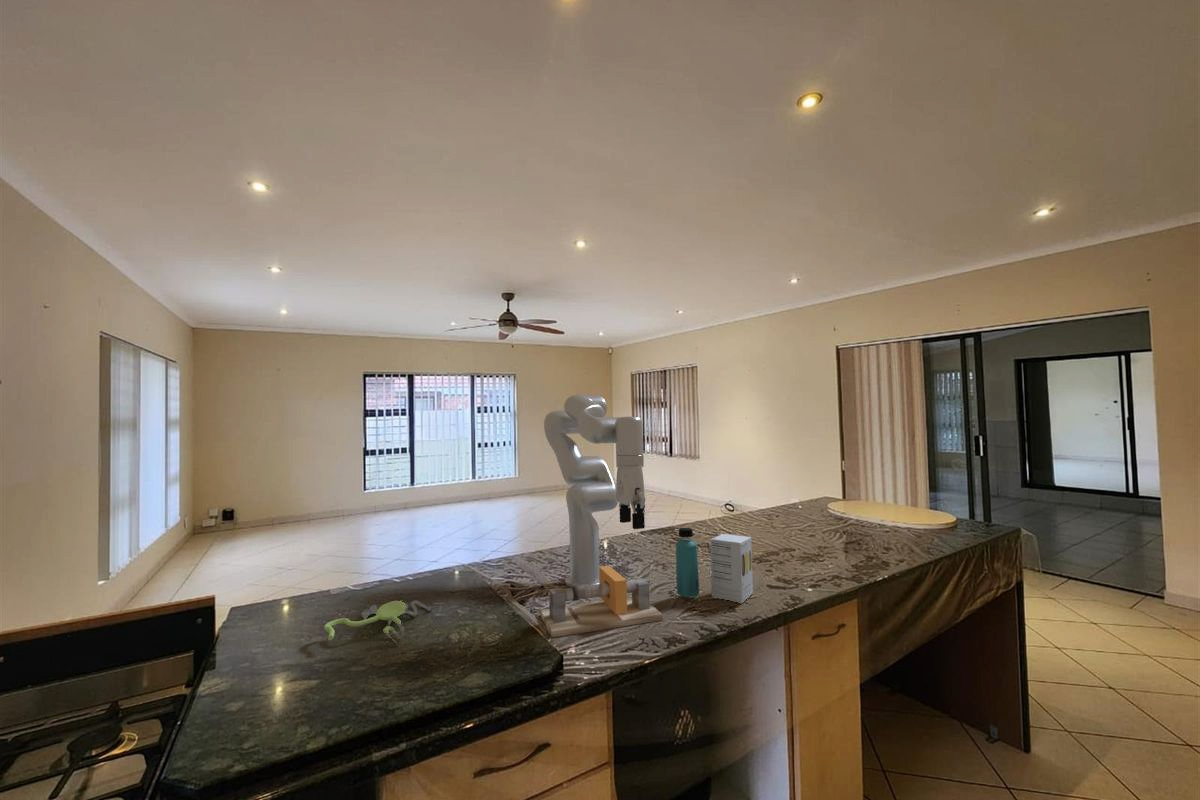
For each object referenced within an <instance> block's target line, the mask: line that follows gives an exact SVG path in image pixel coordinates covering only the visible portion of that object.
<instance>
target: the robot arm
mask: <svg viewBox="0 0 1200 800" xmlns="http://www.w3.org/2000/svg"><path fill="white" fill-rule="evenodd" d="M607 411H608V404H607V402H606V399H605V398H604V397H603V396H601V395H598V394H572V395H571V396H569V397H567V398H566V399H565V401H564V404H563V410H562V409H558V410H553V411H550V412H549V413H547V414H546V416H545V418H544V422H543V428H544V435H545V438H546V440H547V442H548V444H549V446H550V448H551V449H552V450H553V452H554V454H555V457H556V460H557V462H558V466H559V468H560V471H561V475H562V478H563V479H564V482H565V483H566V484H568V485H571V486H570V487H569V488H568V489H567V490H566V493H565V494H566V496H565V499H566V500H565V501H566V506H567V512H568V513H567V514H568V521H569V527H568V528H569V575H568V576H567V577H565V581H564V583H565V584H566V586H568V587H569V588H571V587H582V586H590V585H597V584H600V580H599V567H600V527H599V523H598V522H597V520H596V519H595V517H594V516H593V514H592V513H598V512H605V511H611V510H614V509H616V508H617V507H619V523H622V524H624V523H632V529H633V530H640V529H642V530H643V529H645V527H646V526H645V511H646V510H645V508H646V504H645V503H646V497H645V481H644V480H645V479H644V473H643V468H644V467H645V464H644V433H643V432H644V431H643V430H644V428H643V425H644V424H643V420H642V418H641V417H640V416H619V417H617V416H616V417H615V416H611V417H610V416H606V414H607ZM569 434H570V435H572V434H575V435H576V434H579V435H580V436H581V437H582V438H583V439H585V440H586V441H588V442H589V443H592V444H597V445H598V444H599V445H601V444H615V464H616V466H615V467H616V468H617V470H616V483H615V481H614V479H613V475H612V474H611V470H610V468H609V465H608V464H607V462H606V460H604V458H602V457H600V456H597V455H590V456H589V455H587V456H586V455H583V454H582V453H581V449H580V447H579V445H578V444H577V442H575V440H574V439H572V438H571V437H570V436H569ZM630 505H631V507H630ZM631 509H632V510H631ZM632 512H633V513H632Z"/></svg>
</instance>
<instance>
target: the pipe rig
mask: <svg viewBox="0 0 1200 800" xmlns="http://www.w3.org/2000/svg"><path fill="white" fill-rule="evenodd" d="M548 591H549V592H548V594H549V595H548V596H549V597H548V598H549V603H548V604H549V608H542V609H540V613H539V614H540V617H541V620H542V621H543V623H544V626H545V627H546V629H547V631H548V633H549V635H550V637H551V639H552V638H558V637H559V638H560V637H566V636H572V635H579V634H584V633H589V632H596V631H597V632H598V631H602V630H604V631H605V630H609V629H615V628H616V629H617V628H621V627H622V628H623V627H627V626H633V625H634V626H635V625H640V624H647V623H652V622H658V621H659V622H660V621H663V613H661V611H659V610H658V609H657V608H656V607H655V606H653V604H651V603H650V602H651V601H650V600H651V599H650V583H649V582H648V581H647V579H646V578H643V577H637V578H631V580H630V579H629V580H627V594H629V593H631V596H630V597H629V596H627V613H621V614H615V613H614V612H613V610H612V609H611V608H610V607H609V606H608V605H607V604H606V603H605V602H604V601H603V600H600V601H593V602H592V601H591V602H586V603H579V604H572V605H566V602H570V601H572V602H575V601H579V600H584V599H591V598H601V596H608V595H610V586H609V583H605V584H597V585H590V586H582V587H567V588H561V587H559V588H552V589H551V588H550V589H549V590H548Z"/></svg>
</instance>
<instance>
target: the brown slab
mask: <svg viewBox="0 0 1200 800" xmlns="http://www.w3.org/2000/svg"><path fill="white" fill-rule="evenodd" d="M599 580H600V584H605V583H609V586H610V595H608V596H601V597H600V599H602V600H601V601H604V602H605V603H606V604H607V605H608V606H609V607H610V608H611V609H612V610H613V612H614V613H615V614H621V613H627V598H628V593H627V581H628V580H627V579H626V578H624V577H623V576H622V575H621V574H620V573H618V572H617V571H616V570H615V569H614V568H613V567H612V566H610V565H607V566H606V565H605V566H599Z"/></svg>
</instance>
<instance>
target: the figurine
mask: <svg viewBox="0 0 1200 800" xmlns="http://www.w3.org/2000/svg"><path fill="white" fill-rule="evenodd" d="M402 601H403V600H400V601H398V600H392V601H388V602H386V603H384V604H382V605H380V606H379V607H378V610H377V612H376V615H373V616H370V617H369V618H368V619H363V620H359V621H358V620H356V621H353V620H350V619H349V618H346V617H345V618H343V617H342V618H337V619H333V620H331V621H329V622H327V623H326V624H324V626H323V629H324V631H326V632H327V633H328V636H327V639H328V641H333V639H334V637H335V633H336V632H335V629H334V628H333V626H336V625H341V624H345V625H347V626H348V627H353V628H354V627H355V628H357V627H363V626H365V625H368V624H372V623H374V622H377V621H380V620H381V621H388V620H392V622H394V623H395V624H396V623H397V624H401V622H402V621H401V620H400V617H401V616H400V615H401V614H403V612H404V611H405V608H406V605H405V603H404V602H402ZM398 616H400V617H398ZM397 617H398V618H397ZM397 624H396V625H397ZM389 630H396V629H395V628H394V627H393V626H391V625H386V626H385V627H384V628H383V629H382V631H383V633H390V631H389Z"/></svg>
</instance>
